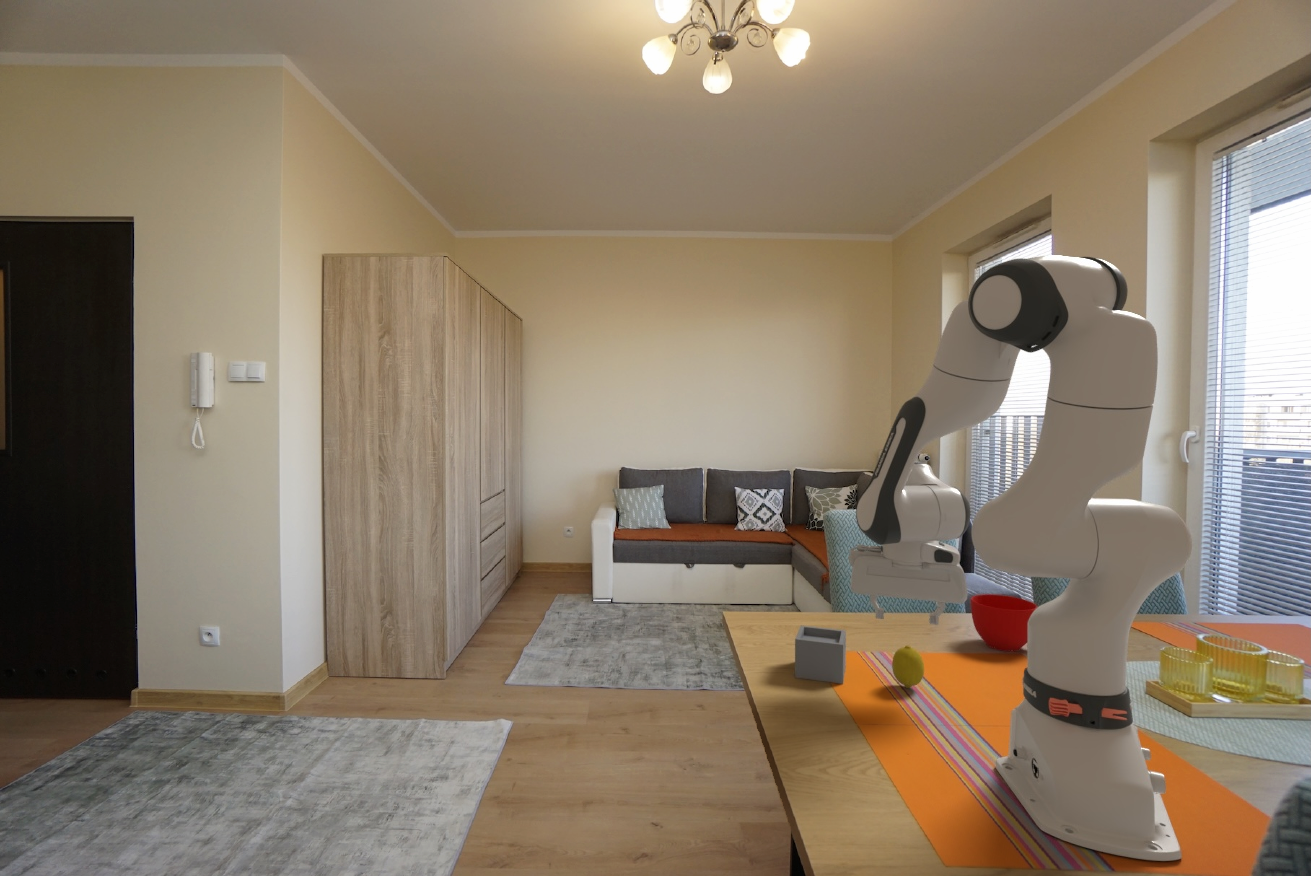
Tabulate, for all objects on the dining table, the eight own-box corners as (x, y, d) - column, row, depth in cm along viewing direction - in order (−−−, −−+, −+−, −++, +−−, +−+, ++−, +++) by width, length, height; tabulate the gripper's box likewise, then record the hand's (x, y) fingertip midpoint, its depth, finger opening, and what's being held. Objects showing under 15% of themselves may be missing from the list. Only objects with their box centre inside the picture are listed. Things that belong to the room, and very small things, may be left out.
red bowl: (1066, 662, 125) (1066, 614, 125) (976, 652, 131) (976, 607, 131) (1047, 642, 138) (1048, 598, 138) (966, 634, 143) (966, 592, 143)
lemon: (928, 687, 113) (928, 645, 113) (917, 697, 109) (917, 653, 109) (898, 679, 116) (898, 638, 116) (887, 688, 112) (887, 645, 112)
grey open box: (843, 684, 114) (843, 644, 114) (794, 677, 117) (795, 639, 117) (845, 666, 123) (845, 630, 123) (800, 661, 126) (800, 625, 126)
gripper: (848, 547, 113) (847, 619, 114) (969, 556, 106) (968, 633, 107) (849, 540, 119) (849, 609, 120) (964, 548, 112) (963, 621, 112)
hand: (906, 620), depth 113 cm, fingers open, 8 cm apart
